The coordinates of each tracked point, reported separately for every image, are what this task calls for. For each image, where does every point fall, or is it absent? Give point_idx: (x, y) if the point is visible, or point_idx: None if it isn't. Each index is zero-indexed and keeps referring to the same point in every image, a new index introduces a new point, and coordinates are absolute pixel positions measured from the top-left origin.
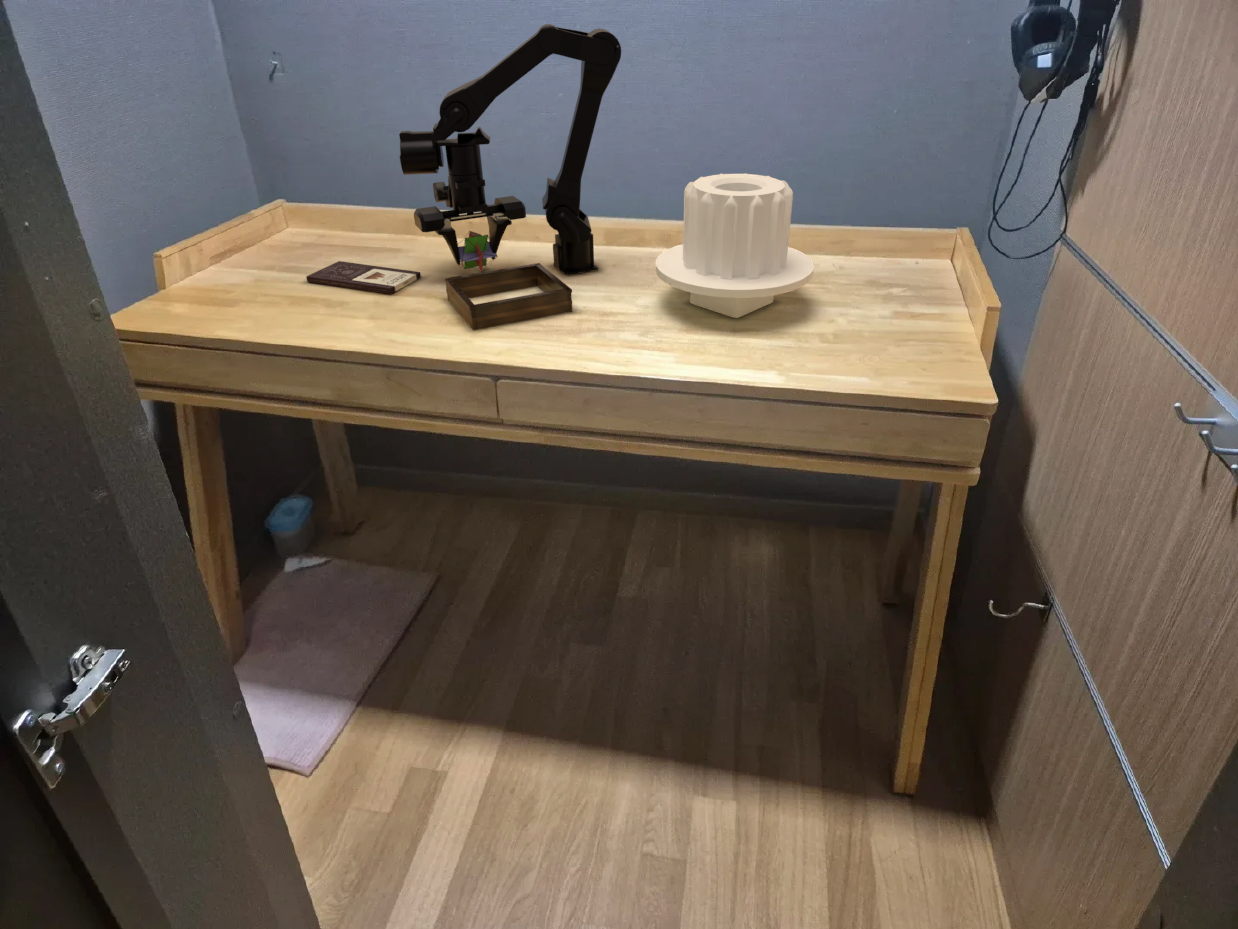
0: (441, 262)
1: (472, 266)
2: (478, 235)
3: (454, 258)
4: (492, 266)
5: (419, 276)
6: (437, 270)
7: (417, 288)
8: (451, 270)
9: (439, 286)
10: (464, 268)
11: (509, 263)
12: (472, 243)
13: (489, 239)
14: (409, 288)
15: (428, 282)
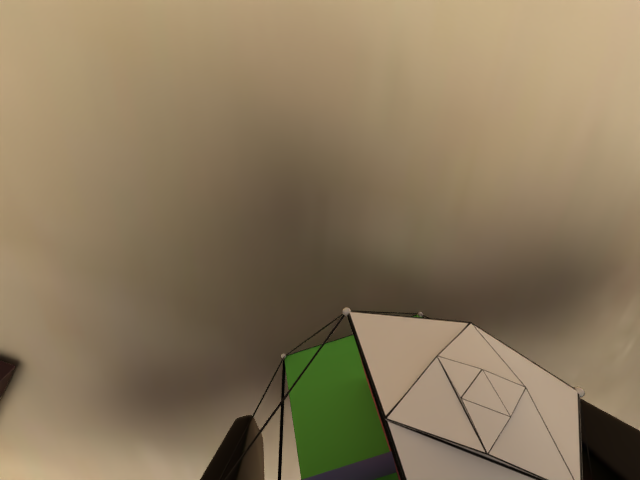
0: (84, 56)
1: (337, 345)
2: (540, 470)
3: (219, 457)
4: (456, 245)
5: (4, 384)
6: (96, 248)
7: (52, 477)
8: (197, 266)
9: (161, 465)
10: (285, 357)
11: (565, 213)
12: None
13: (604, 473)
14: (6, 474)
15: (89, 419)
